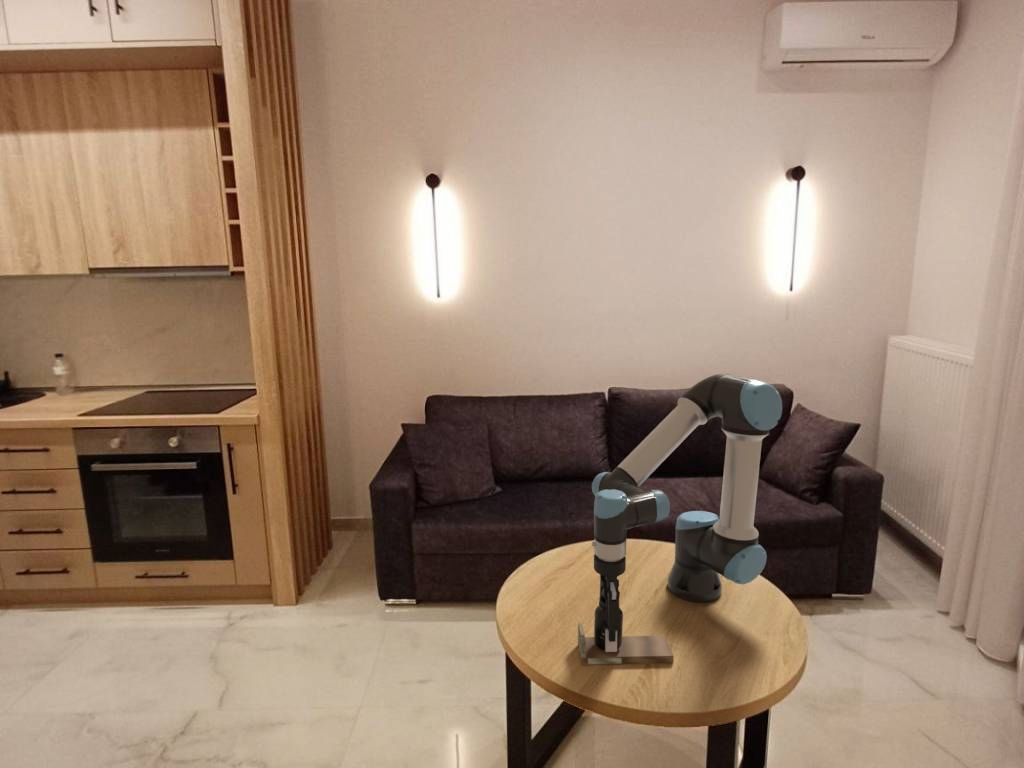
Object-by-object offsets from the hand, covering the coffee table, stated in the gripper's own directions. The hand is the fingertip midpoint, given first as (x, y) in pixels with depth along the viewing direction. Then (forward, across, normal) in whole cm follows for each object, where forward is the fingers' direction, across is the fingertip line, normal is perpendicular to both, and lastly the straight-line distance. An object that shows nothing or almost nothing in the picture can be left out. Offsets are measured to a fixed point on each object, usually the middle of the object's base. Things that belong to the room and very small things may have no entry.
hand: (608, 641), depth 150 cm
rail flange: (+3, 0, +4) cm, 5 cm away
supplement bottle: (+1, 0, 0) cm, 1 cm away
